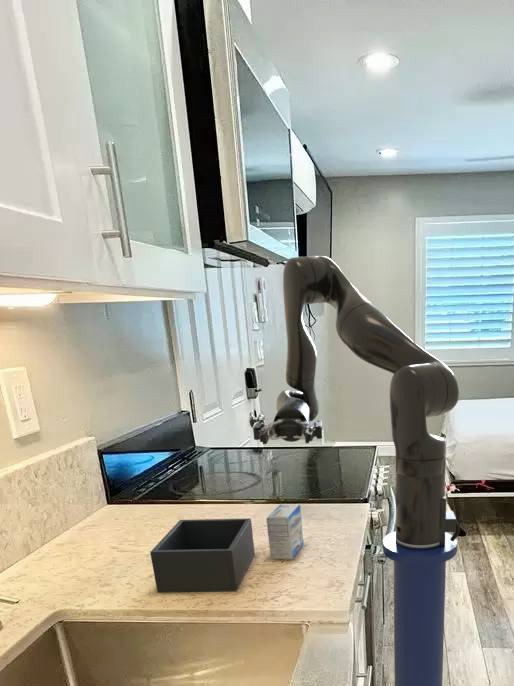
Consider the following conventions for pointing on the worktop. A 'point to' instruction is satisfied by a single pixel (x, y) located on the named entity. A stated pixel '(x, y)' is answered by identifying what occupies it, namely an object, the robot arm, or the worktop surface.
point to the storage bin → (203, 556)
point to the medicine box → (285, 531)
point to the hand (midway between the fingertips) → (285, 438)
